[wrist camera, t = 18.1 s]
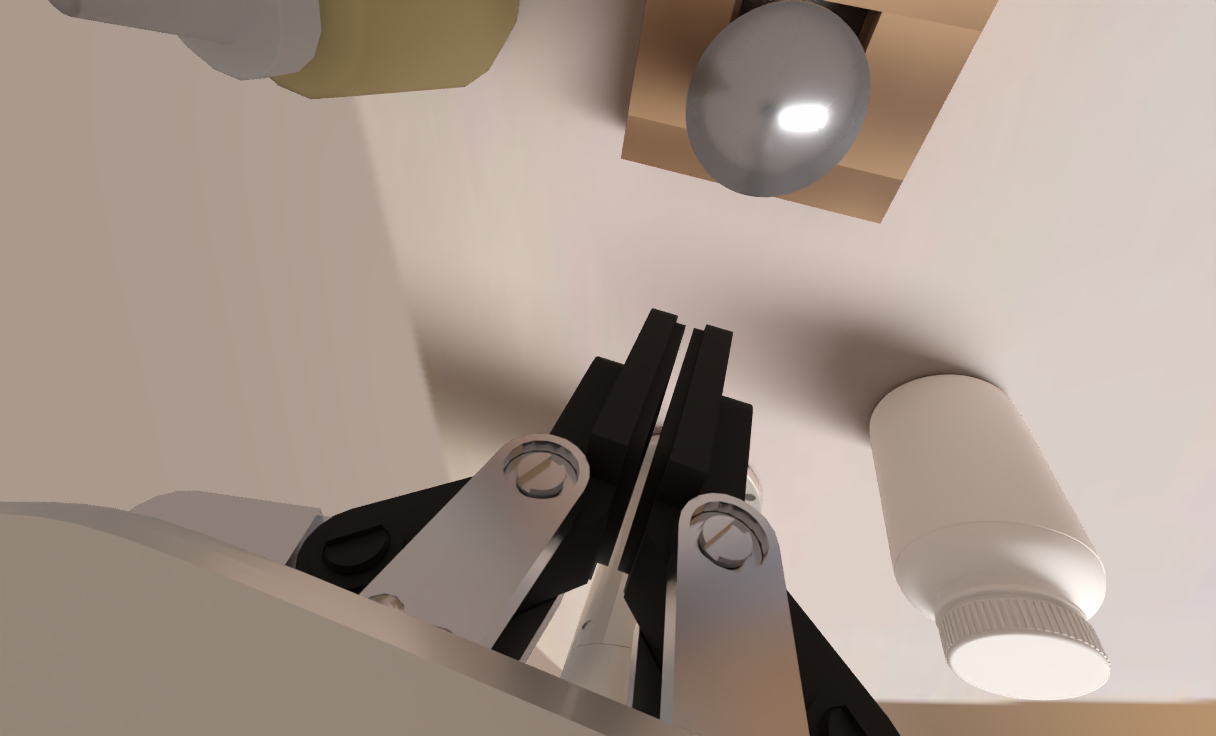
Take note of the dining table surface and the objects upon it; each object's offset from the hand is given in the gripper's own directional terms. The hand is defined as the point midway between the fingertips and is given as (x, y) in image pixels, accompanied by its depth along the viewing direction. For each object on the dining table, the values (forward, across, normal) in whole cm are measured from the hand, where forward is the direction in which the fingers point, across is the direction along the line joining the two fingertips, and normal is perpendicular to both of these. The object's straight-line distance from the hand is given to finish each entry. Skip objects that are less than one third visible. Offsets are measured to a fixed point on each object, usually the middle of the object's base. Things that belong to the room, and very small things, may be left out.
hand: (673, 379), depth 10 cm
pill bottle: (+21, -16, +11) cm, 29 cm away
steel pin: (+19, 0, -5) cm, 20 cm away
